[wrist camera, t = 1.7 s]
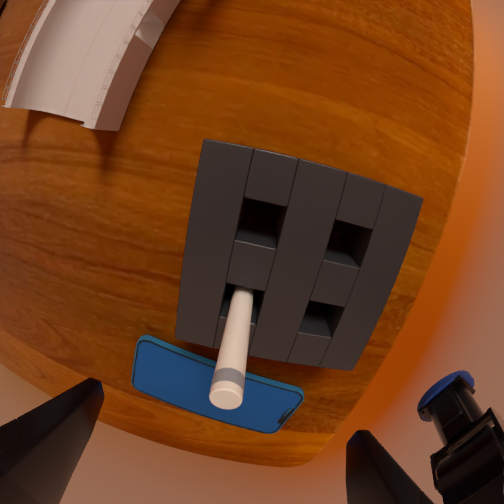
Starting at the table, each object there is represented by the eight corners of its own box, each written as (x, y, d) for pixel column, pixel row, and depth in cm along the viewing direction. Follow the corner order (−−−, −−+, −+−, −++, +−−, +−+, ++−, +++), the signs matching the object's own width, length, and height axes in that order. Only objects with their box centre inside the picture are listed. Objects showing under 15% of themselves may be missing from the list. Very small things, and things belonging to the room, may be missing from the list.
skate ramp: (101, -37, 11) (74, -60, 6) (239, -33, 12) (231, -73, 7) (29, 107, 16) (-13, 106, 11) (150, 141, 17) (111, 139, 12)
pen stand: (394, 188, 17) (423, 198, 13) (340, 337, 21) (352, 371, 17) (217, 141, 16) (203, 138, 13) (189, 307, 21) (174, 338, 17)
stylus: (259, 273, 19) (249, 399, 9) (248, 286, 20) (230, 414, 9) (244, 263, 19) (220, 384, 9) (234, 276, 19) (201, 400, 9)
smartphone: (137, 334, 21) (308, 394, 22) (142, 328, 22) (307, 386, 22) (130, 387, 23) (273, 435, 24) (133, 381, 24) (273, 428, 25)
